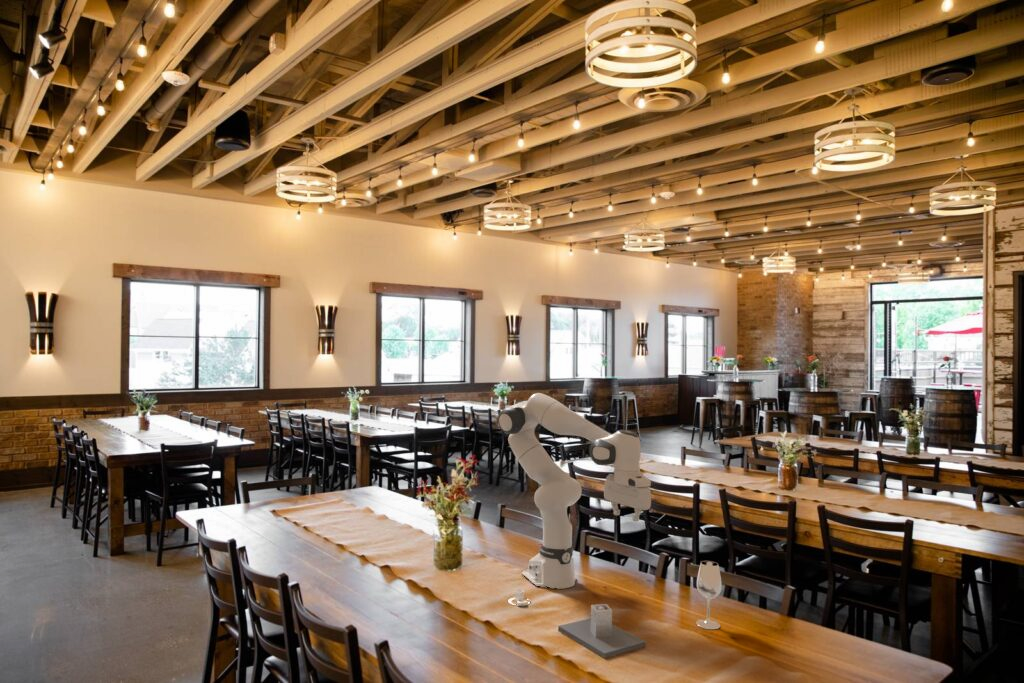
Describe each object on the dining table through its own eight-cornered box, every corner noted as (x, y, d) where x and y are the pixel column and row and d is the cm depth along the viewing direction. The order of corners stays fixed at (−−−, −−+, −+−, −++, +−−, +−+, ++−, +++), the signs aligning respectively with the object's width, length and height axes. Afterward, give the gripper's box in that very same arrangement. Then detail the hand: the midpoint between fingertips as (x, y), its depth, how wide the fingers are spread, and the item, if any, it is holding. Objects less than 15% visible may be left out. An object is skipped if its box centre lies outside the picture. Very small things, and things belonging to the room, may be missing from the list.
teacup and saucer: (527, 609, 228) (528, 597, 229) (505, 606, 230) (505, 594, 230) (532, 600, 237) (532, 588, 237) (510, 597, 239) (510, 586, 239)
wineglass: (703, 630, 214) (705, 567, 214) (691, 621, 221) (692, 560, 222) (725, 628, 216) (726, 566, 216) (711, 619, 223) (713, 559, 224)
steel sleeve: (590, 630, 207) (591, 604, 207) (605, 629, 208) (606, 604, 208) (595, 637, 202) (596, 610, 203) (611, 636, 203) (612, 610, 204)
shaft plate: (558, 630, 210) (559, 599, 210) (597, 621, 219) (598, 591, 219) (604, 658, 192) (605, 624, 192) (645, 646, 200) (646, 614, 201)
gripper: (600, 473, 238) (599, 512, 238) (640, 483, 221) (639, 525, 221) (613, 472, 242) (612, 510, 241) (654, 482, 225) (653, 523, 224)
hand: (625, 517), depth 231 cm, fingers open, 8 cm apart
